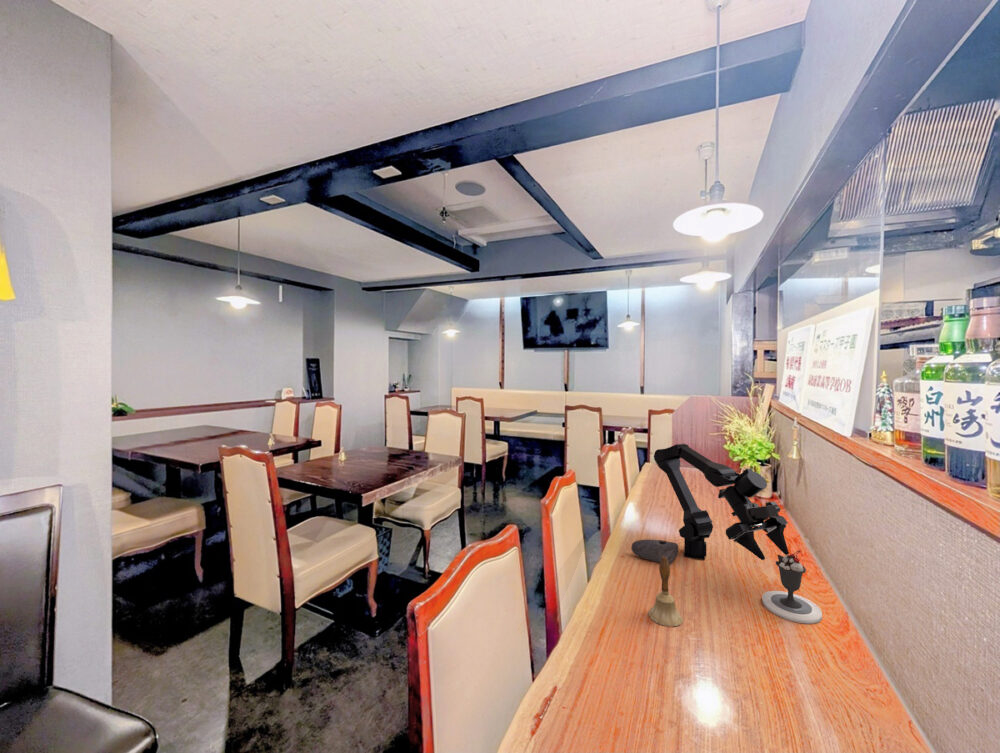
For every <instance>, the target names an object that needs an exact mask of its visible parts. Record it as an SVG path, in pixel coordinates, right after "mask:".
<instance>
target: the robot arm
mask: <svg viewBox="0 0 1000 753" xmlns="http://www.w3.org/2000/svg"><path fill="white" fill-rule="evenodd" d="M653 458H654V461H655V463H656V465H657V467H658V468H659V469H660V470H661V471H663V472H664V473H665V474H666V476H667V478H668V480H669V482H670V484H671V487H672V488H673V491H674V493H675V496H676V497H677V500H678V502H679V504H680V507H681V509H682V511H683V518H682V522H683V526H682V527H681V528H679V529H678V533H679V537H681V538H683V540H684V543H683V544H684V548H683V556H684V557H685V558H686V557H687V558H692V559H697V560H702V561H705V560H706V557H707V542H706V541H705V539H709V538H710V536H711V534H712V532H713V529H714V525H713V520H712V519H711V517H710V514H709V513H708V511H707V510H702V509H701V508H699V506H698V505H697V502H696V500H695V499H694V496H693V494H692V492H691V490H690V488H689V486H688V484H687V482H686V479H685V477H684V476H683V473H682V471H681V469H680V468H681V459H682V460H684V461H685V462H686V463H688V464H690V466H692V467H694V468H696V469H697V470H698V471H700V472H701V473H702V474H703V475H704V478H705V480H706V481H707V482H709V483H710V484H711V485H712V486H713V487H716V488H721V487H726V488H721V489H719V491H718V495H717V498H718V499H725V500H726V501H727V503H728V505H729V506H730V508H731V510H732V511H733V512H731V515H732V517H737V519H738V520H739V522H735V523H733V524H731V526H729V527H727V528H726V529H725V535H726V537H727V538H728V540H729V541H731V540H733V542H734V543H737V544H738V545H740V546H742V547H744V548H745V549H746V550H748V551H749V552H750V553H751V554H753V555H755V557H757V558H758V559H760V560H761V561H765V560H766V557H765V555H764V553H763V551H762V550H761V547H760V546H759V544H758V543H757V540H755V532H756V531H761V530H763V532H765V533H766V534H765V535H766V537H768V539H769V540H770V541H771V542H772V543H773V544H774V545H775V546H776V547H777V548H778V550H780V551H781V553H783V554H784V556H786V555H790V552H789V551H790V550H789V548H788V545H787V541H786V539H785V534H784V533H785V532H784V531H785V529H786V528H787V524H789V523H788V521H787V519H786V518H785V517H784V516H782V515H779V513H780V512H781V507H780V506H779V505H778V503H777V502H776V501H773V500H772V501H767V502H765V505H764V506H759V504H758V503H756V502H752V501H751V499H752V498H754V497H755V496H756V495H757V494H759V493H760V492H762V491H763V490H765V489H766V488H767V487H768V483H767V480H766V479H765V477H764V476H762V475H761V474H760V473H758V472H756V471H754V470H753V469H752V468H745V469H744V470H743V471H742V472H741V473H738V472H736V470H735V469H733V468H732V467H730V466H727V465H725V464H723V463H722V464H721V463H718V462H714V461H712V460H711V459H709V458H707V457H706V456H704V455H702V454H701V453H700V452H698V451H696V450H694V449H693V448H691V447H690V446H689V445H688V444H686V443H677V444H674V445H672V446H669V447H666V448H661V449H656V450H655V451H654V454H653ZM750 498H751V499H750Z"/></svg>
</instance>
